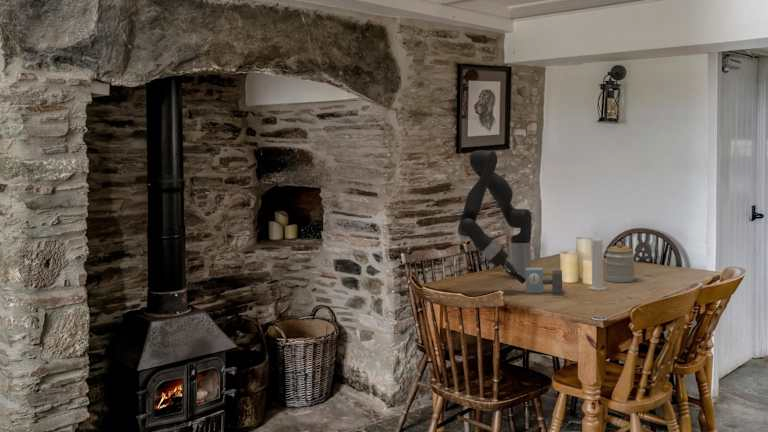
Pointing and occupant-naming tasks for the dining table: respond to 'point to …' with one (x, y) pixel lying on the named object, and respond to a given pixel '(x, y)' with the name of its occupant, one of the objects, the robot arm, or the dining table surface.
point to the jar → (620, 264)
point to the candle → (597, 264)
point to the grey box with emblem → (535, 280)
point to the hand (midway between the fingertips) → (524, 282)
